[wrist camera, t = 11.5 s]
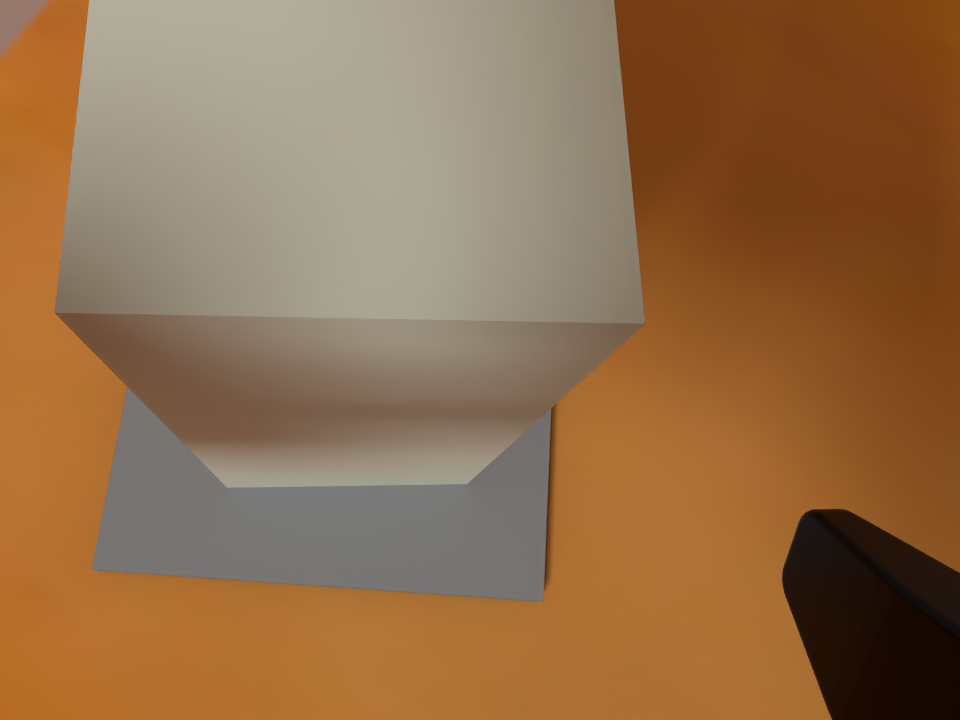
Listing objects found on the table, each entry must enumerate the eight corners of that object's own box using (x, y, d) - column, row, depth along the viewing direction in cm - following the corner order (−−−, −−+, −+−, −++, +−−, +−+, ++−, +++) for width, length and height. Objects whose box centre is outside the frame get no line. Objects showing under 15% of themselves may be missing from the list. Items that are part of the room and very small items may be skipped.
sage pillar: (466, 483, 20) (645, 323, 8) (227, 487, 19) (54, 312, 7) (459, 269, 21) (601, -118, 10) (238, 262, 20) (109, -174, 9)
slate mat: (538, 601, 20) (543, 601, 19) (98, 570, 18) (91, 569, 18) (554, 221, 22) (559, 212, 22) (175, 169, 21) (172, 159, 21)
